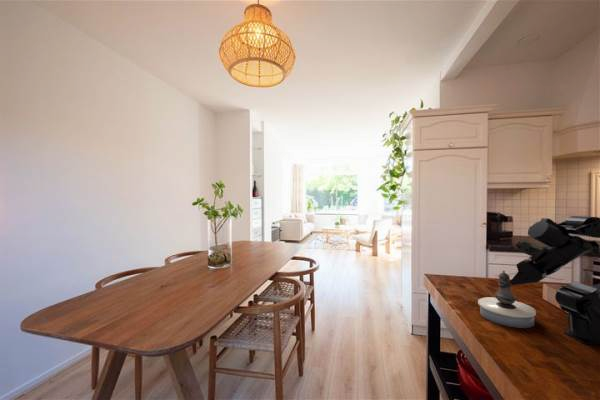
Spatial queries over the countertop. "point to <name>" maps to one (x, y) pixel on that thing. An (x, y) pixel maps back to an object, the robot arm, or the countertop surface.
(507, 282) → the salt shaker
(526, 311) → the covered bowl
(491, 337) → the countertop surface
